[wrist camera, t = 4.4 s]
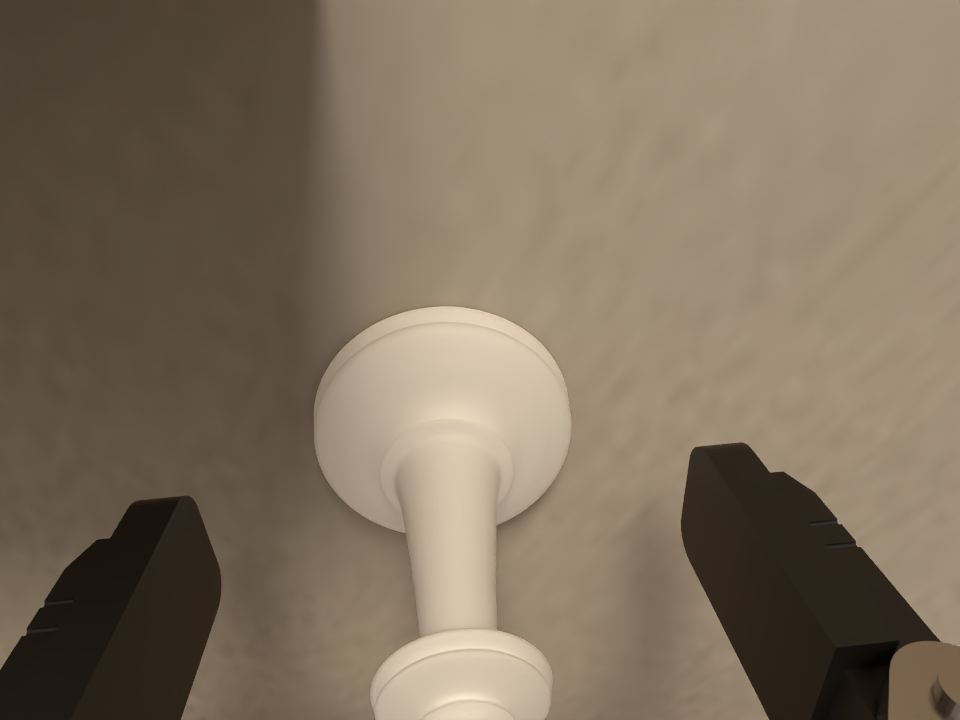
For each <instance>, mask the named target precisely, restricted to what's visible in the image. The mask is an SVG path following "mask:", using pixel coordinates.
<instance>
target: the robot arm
mask: <svg viewBox="0 0 960 720" xmlns="http://www.w3.org/2000/svg"><path fill="white" fill-rule="evenodd" d="M681 532H682V538H683V543H684V547H685V551H686V553H687V556H688V558H689V561H690V563H691V565H692V567H693V569H694V571H695V573H696V575H697V577H698V579H699V581H700V583H701V585H702V587H703V589H704V591H705V592H706V594H707V596H708V598H709V600H710V602H711V604H712V606H713V608H714V610H715V612H716V614H717V616H718V618H719V620H720V622H721V624H722V626H723V628H724V630H725V632H726V634H727V636H728V638H729V640H730V642H731V644H732V646H733V648H734V650H735V652H736V654H737V656H738V658H739V660H740V662H741V664H742V666H743V668H744V670H745V672H746V674H747V676H748V678H749V680H750V682H751V684H752V686H753V688H754V690H755V692H756V694H757V696H758V698H759V700H760V702H761V704H762V706H763V708H764V710H765V712H766V714H767V716H768V718H769V720H960V647H959V646H956V645H952V644H949V643H943V642H941V641H940V640H939V639H938V638H937V637H936V636H935V635H934V634H933V632H932V631H931V630H930V629H929V628H928V627H927V625H926V624H925V623H924V622H923V621H922V619H921V618H920V617H919V616H918V615H917V613H916V612H915V611H914V610H913V609H912V607H911V606H910V605H909V604H908V603H907V602H906V600H905V599H904V598H903V597H902V596H901V594H900V593H899V592H898V591H897V590H896V588H895V587H894V586H893V585H892V584H891V582H890V581H889V580H888V579H887V578H886V577H885V575H884V574H883V573H882V572H881V571H880V569H879V568H878V567H877V566H876V565H875V563H874V562H873V561H872V560H871V559H870V558H869V556H868V555H867V554H866V553H865V552H864V550H863V549H862V548H861V547H857V546H856V541H855V540H854V538H853V537H852V536H851V535H850V534H849V533H848V531H847V530H846V529H845V528H844V527H843V525H842V524H840V525H839V524H838V523H837V518H836V517H835V516H834V515H833V513H832V512H831V511H830V510H829V509H828V508H827V506H826V505H825V504H824V503H823V502H822V500H821V499H820V498H819V497H818V496H817V494H816V493H815V492H813V491H812V490H810V489H809V488H807V487H806V486H804V485H803V484H801V483H800V482H798V481H797V480H795V479H794V478H792V477H791V476H789V475H788V474H786V473H785V472H774V473H770V472H769V471H768V469H767V468H766V467H765V466H764V464H763V463H762V462H761V460H760V459H759V458H758V457H757V455H756V454H755V453H754V451H753V450H752V449H751V448H750V447H749V446H748V445H747V444H745V443H731V444H721V445H711V446H701V447H695V448H694V449H693V450H692V452H691V455H690V460H689V467H688V474H687V481H686V488H685V495H684V502H683V509H682V517H681ZM220 596H221V574H220V569H219V565H218V562H217V559H216V556H215V554H214V551H213V548H212V545H211V543H210V540H209V537H208V535H207V532H206V529H205V526H204V524H203V521H202V518H201V515H200V513H199V510H198V507H197V505H196V503H195V501H194V500H193V499H192V498H191V497H190V496H180V497H170V498H160V499H149V500H139V501H135V502H134V503H132V504H131V505H130V506H129V508H128V509H127V511H126V513H125V514H124V516H123V518H122V519H121V521H120V523H119V524H118V526H117V528H116V530H115V531H114V533H113V535H112V536H111V538H109V539H99V540H96V541H95V542H94V543H93V544H92V545H91V546H90V547H89V548H88V549H86V550H85V551H84V552H83V553H82V554H81V555H80V556H79V557H78V558H76V559H75V560H74V561H73V562H72V563H71V564H70V565H69V566H68V567H66V568H65V570H64V571H63V573H62V574H61V576H60V577H59V579H58V581H57V582H56V584H55V585H54V587H53V588H52V590H51V592H50V593H49V595H48V596H47V598H46V599H45V601H44V602H45V605H44V608H40V609H39V610H38V612H37V613H36V615H35V617H34V618H33V620H32V621H31V623H30V624H29V626H28V627H27V634H26V636H22V637H21V638H20V640H19V642H18V643H17V645H16V646H15V648H14V649H13V651H12V652H11V654H10V656H9V657H8V659H7V660H6V662H5V663H4V665H3V667H2V668H1V670H0V720H181V717H182V714H183V711H184V708H185V705H186V702H187V699H188V696H189V693H190V690H191V687H192V685H193V682H194V679H195V676H196V673H197V670H198V667H199V664H200V661H201V658H202V655H203V652H204V649H205V646H206V643H207V640H208V637H209V634H210V631H211V628H212V625H213V622H214V619H215V616H216V613H217V610H218V607H219V603H220Z"/></svg>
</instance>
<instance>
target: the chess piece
mask: <svg viewBox="0 0 960 720" xmlns="http://www.w3.org/2000/svg"><path fill="white" fill-rule="evenodd" d="M570 439H571V413H570V408H569V398H568V392H567V388H566V384H565V381H564V378H563V376H562V373H561V371H560V369H559V367H558V365H557V364H556V362H555V360H554V359H553V357H552V356H551V355H550V353H549V352H548V351H547V350H546V348H545V347H544V346H543V345H542V344H541V343H540V342H539V341H538V340H537V339H536V338H534V337H533V336H532V335H531V334H530V333H528V332H527V331H525V330H524V329H523V328H521V327H519V326H518V325H516V324H514V323H512V322H510V321H508V320H506V319H504V318H502V317H499V316H497V315H494V314H491V313H488V312H484V311H480V310H476V309H470V308H463V307H449V306H443V307H428V308H421V309H415V310H411V311H406V312H403V313H400V314H396V315H394V316H391V317H389V318H386V319H384V320H382V321H380V322H378V323H376V324H374V325H372V326H370V327H369V328H367V329H365V330H364V331H362V332H361V333H360V334H358V335H357V336H356V337H354V338H353V339H352V340H351V341H350V342H348V343H347V344H346V345H345V346H344V347H343V348H342V349H341V350H340V351H339V353H338V354H337V355H336V356H335V358H334V359H333V360H332V362H331V363H330V365H329V366H328V368H327V370H326V371H325V373H324V375H323V377H322V380H321V382H320V385H319V387H318V391H317V394H316V399H315V405H314V444H315V451H316V455H317V459H318V462H319V465H320V467H321V470H322V472H323V474H324V476H325V478H326V480H327V481H328V483H329V484H330V486H331V487H332V489H333V490H334V491H335V492H336V494H337V495H338V496H339V497H340V498H341V499H342V500H343V501H344V502H345V503H346V504H347V505H348V506H350V507H351V508H352V509H353V510H355V511H356V512H357V513H359V514H360V515H362V516H363V517H365V518H367V519H368V520H370V521H372V522H374V523H376V524H379V525H381V526H383V527H386V528H389V529H391V530H395V531H398V532H402V533H406V540H407V546H408V553H409V559H410V566H411V573H412V580H413V587H414V594H415V603H416V614H417V623H418V631H419V639H416V640H414V641H412V642H410V643H408V644H406V645H404V646H403V647H401V648H400V649H398V650H397V651H395V652H394V653H393V654H392V655H390V656H389V657H388V658H387V659H386V660H385V661H384V662H383V663H382V665H381V666H380V667H379V669H378V670H377V672H376V674H375V676H374V678H373V680H372V684H371V688H370V701H371V705H372V708H373V711H374V715H375V720H545V718H546V717H547V715H548V712H549V709H550V705H551V692H552V687H553V675H552V670H551V667H550V665H549V663H548V661H547V659H546V658H545V656H544V655H543V654H542V653H541V652H540V651H539V650H538V649H537V648H536V647H535V646H533V645H532V644H531V643H529V642H527V641H526V640H524V639H522V638H520V637H517V636H515V635H512V634H509V633H506V632H502V631H498V630H497V600H496V525H499V524H501V523H503V522H505V521H507V520H509V519H511V518H513V517H515V516H516V515H518V514H520V513H521V512H522V511H524V510H525V509H527V508H528V507H529V506H531V505H532V504H533V503H534V502H535V501H536V500H538V499H539V498H540V497H541V496H542V495H543V494H544V492H545V491H546V490H547V489H548V488H549V487H550V485H551V484H552V483H553V481H554V480H555V478H556V477H557V475H558V473H559V472H560V470H561V468H562V466H563V463H564V461H565V458H566V456H567V453H568V449H569V445H570Z"/></svg>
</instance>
